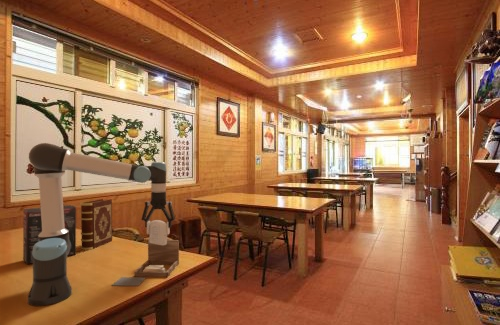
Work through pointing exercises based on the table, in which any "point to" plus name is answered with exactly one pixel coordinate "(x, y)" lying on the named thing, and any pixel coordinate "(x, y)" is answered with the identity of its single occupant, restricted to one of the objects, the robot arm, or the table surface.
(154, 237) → the photo printer
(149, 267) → the offcut stack
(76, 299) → the table surface
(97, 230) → the decorative book
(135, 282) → the mat
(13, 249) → the table surface
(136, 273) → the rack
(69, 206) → the headset box
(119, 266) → the table surface
